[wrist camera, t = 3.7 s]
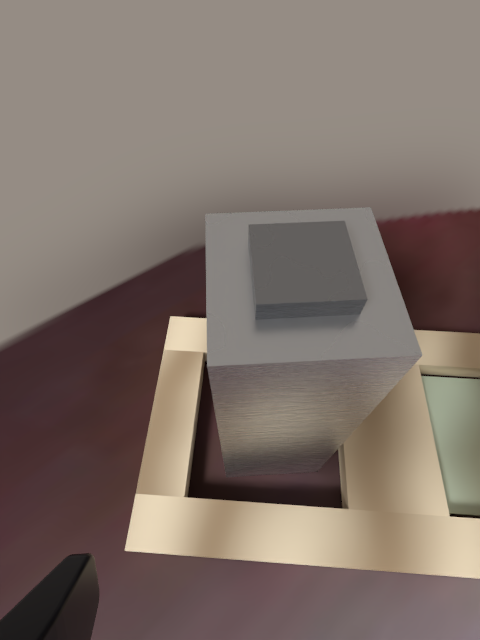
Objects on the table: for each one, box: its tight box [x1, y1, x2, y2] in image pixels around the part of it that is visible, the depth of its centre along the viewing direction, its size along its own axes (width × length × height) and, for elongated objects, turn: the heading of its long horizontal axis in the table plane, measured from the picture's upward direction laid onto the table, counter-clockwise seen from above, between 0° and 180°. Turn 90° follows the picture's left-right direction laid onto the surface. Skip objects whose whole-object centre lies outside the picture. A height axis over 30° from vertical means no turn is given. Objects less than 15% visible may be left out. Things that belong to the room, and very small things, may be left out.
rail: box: [125, 316, 480, 579], centre depth 19 cm, size 24×12×1 cm, turn 86°
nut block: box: [205, 207, 422, 477], centre depth 14 cm, size 5×5×14 cm
